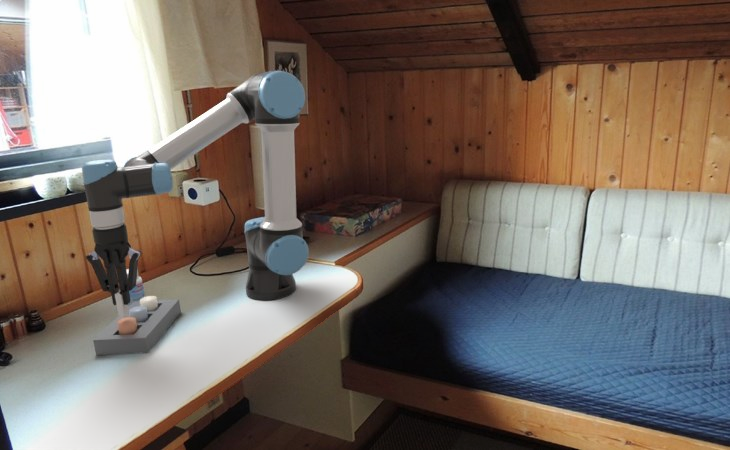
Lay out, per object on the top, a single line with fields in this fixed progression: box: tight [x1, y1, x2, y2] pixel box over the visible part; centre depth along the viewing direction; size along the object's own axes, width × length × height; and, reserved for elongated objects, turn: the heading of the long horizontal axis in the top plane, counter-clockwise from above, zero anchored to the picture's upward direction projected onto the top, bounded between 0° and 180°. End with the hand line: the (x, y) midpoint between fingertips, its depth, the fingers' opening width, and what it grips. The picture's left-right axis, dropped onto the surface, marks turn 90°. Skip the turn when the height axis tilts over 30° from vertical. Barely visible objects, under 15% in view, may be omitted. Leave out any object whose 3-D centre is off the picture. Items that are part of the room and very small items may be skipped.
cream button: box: [140, 295, 158, 311], centre depth 158 cm, size 4×4×4 cm
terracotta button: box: [117, 317, 138, 335], centre depth 144 cm, size 4×4×4 cm
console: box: [92, 298, 182, 356], centre depth 152 cm, size 13×24×4 cm, turn 178°
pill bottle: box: [126, 268, 146, 306], centre depth 168 cm, size 6×6×11 cm
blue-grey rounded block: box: [129, 306, 148, 323], centre depth 151 cm, size 4×4×4 cm
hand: (124, 316), depth 143 cm, fingers closed
